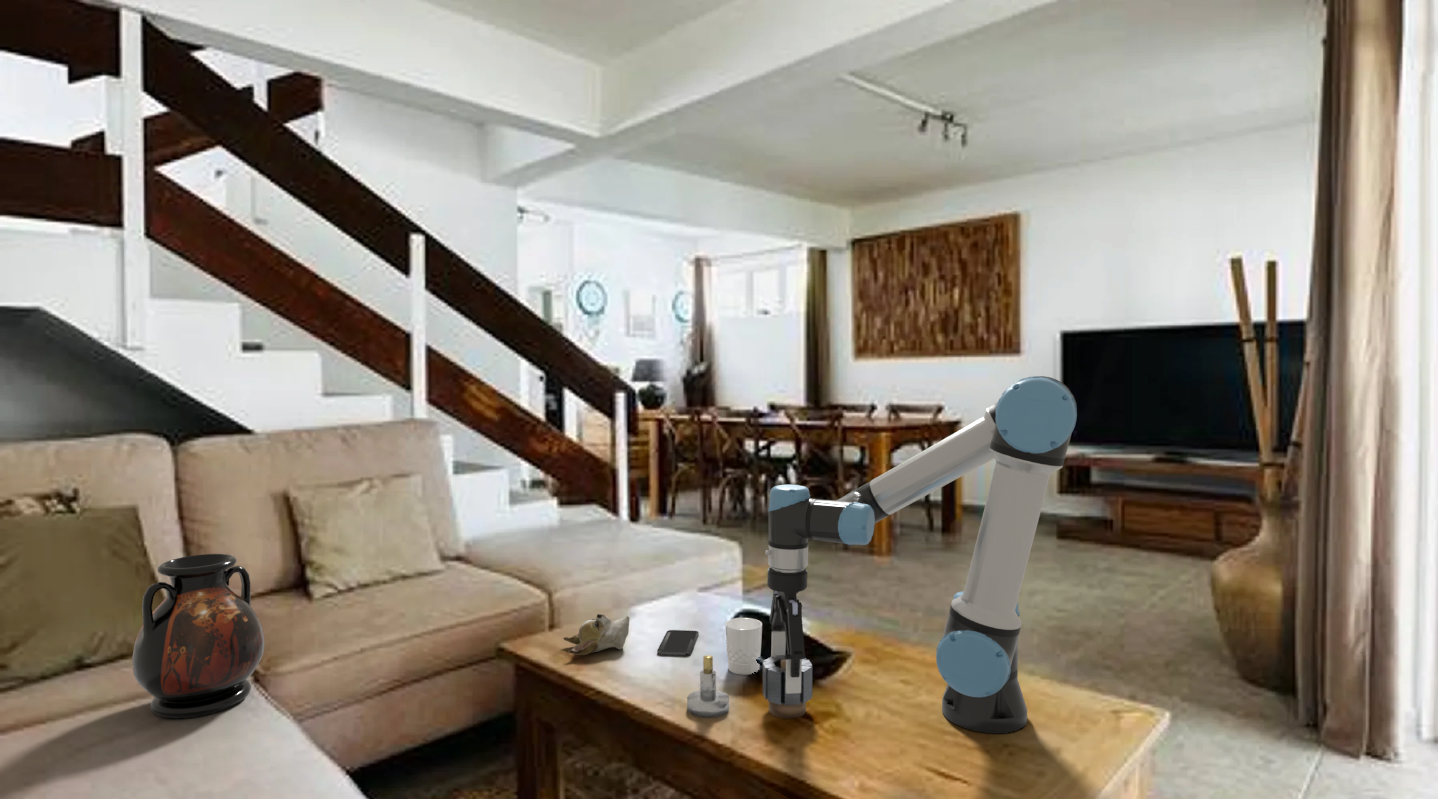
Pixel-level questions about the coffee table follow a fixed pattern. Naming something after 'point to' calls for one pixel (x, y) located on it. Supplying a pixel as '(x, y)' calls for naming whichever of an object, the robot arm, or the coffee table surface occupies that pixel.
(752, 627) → the white cup
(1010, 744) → the coffee table surface
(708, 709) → the brass-tipped marble post
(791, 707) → the stand
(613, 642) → the ceramic sculpture
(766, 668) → the collar
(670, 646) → the phone
